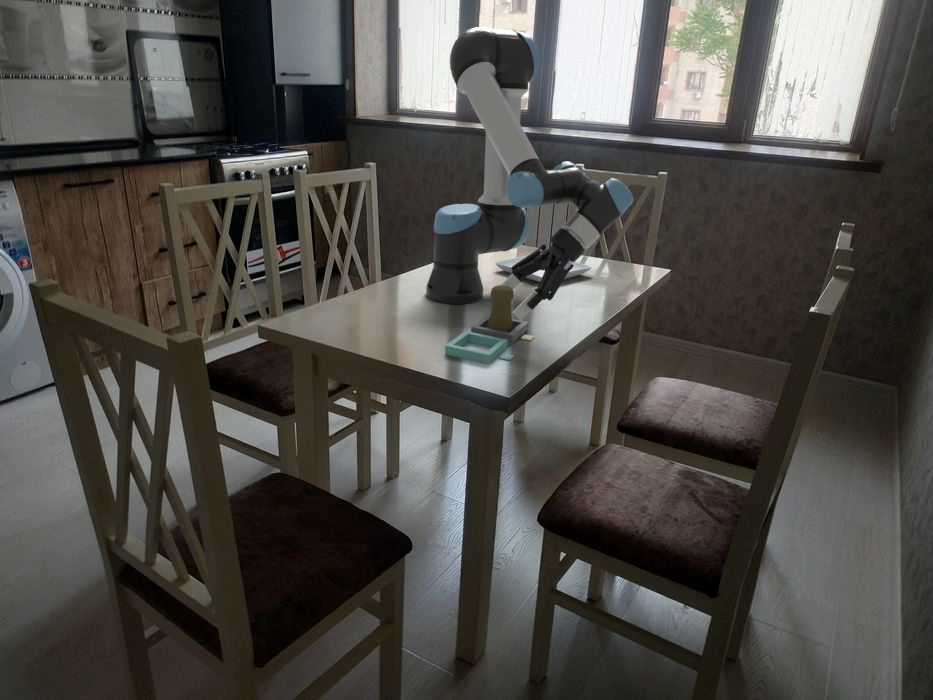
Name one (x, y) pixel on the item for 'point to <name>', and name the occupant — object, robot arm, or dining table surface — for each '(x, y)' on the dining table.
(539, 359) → the dining table surface
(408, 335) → the dining table surface
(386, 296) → the dining table surface
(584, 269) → the salad plate
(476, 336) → the panel
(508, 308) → the cork
